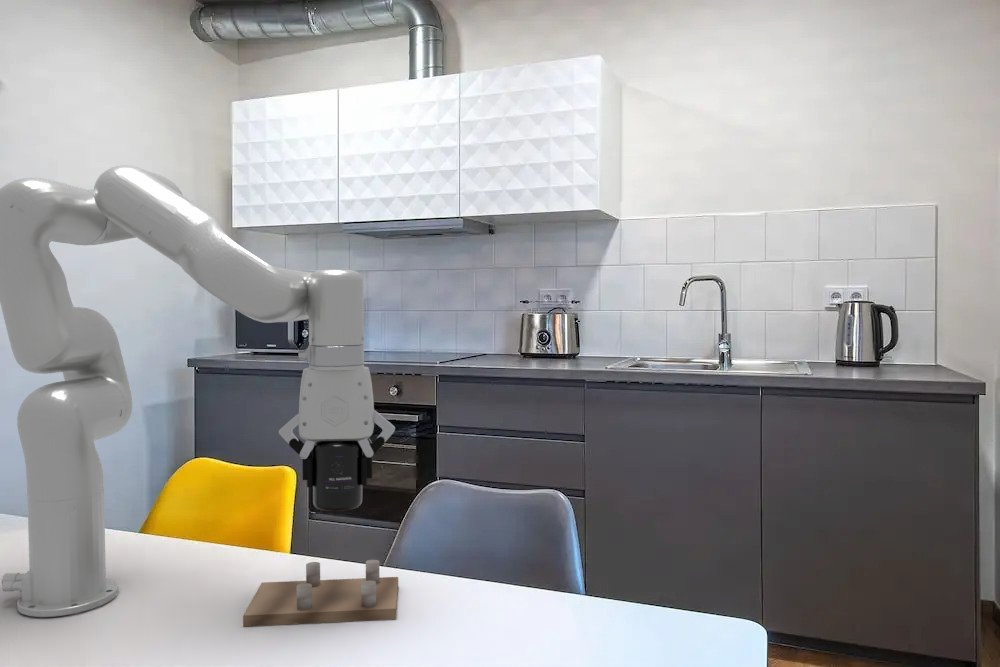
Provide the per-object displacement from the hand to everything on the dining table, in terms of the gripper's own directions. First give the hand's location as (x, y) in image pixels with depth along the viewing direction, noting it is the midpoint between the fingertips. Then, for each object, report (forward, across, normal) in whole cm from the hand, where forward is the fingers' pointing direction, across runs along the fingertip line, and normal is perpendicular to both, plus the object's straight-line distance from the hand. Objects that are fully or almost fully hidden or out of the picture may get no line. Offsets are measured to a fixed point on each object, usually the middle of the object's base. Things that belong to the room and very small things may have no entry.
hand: (338, 483), depth 107 cm
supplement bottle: (+3, 0, 0) cm, 3 cm away
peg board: (+17, -2, 0) cm, 17 cm away
